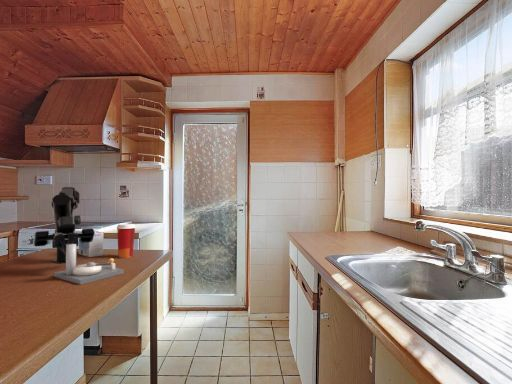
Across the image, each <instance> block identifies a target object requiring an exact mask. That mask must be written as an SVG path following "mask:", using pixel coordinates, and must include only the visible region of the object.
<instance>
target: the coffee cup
mask: <svg viewBox="0 0 512 384" xmlns="http://www.w3.org/2000/svg"><path fill="white" fill-rule="evenodd" d="M136 228H137V227H136V225H135V223H118V224H117V226H116V229H117V232H116V233H117V251H118V252H117V254H118V259H129V258H132V257H133V256H134V246H135V245H134V243H135V235H136V234H135V232H136Z"/></svg>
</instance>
